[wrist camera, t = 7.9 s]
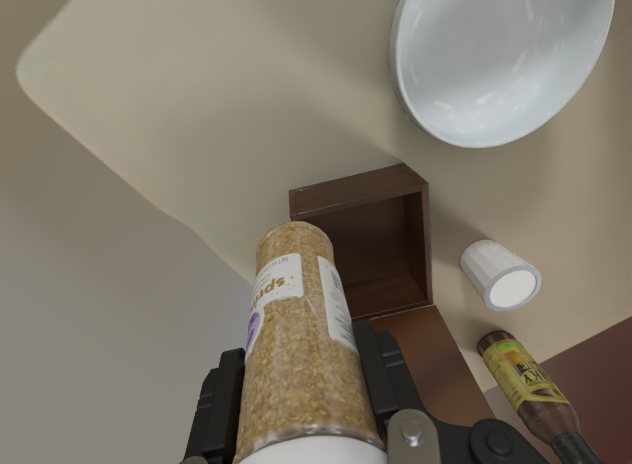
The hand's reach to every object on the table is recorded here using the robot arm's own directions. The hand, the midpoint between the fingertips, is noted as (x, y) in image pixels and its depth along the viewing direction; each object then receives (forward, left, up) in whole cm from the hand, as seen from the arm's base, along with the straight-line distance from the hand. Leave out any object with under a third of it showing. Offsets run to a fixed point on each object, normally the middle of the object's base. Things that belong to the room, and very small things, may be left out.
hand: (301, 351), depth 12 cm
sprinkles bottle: (0, 0, -7) cm, 7 cm away
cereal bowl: (-8, +19, -25) cm, 32 cm away
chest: (+10, +6, -25) cm, 28 cm away
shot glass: (+18, +22, -25) cm, 38 cm away
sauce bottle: (+36, +25, -25) cm, 51 cm away
